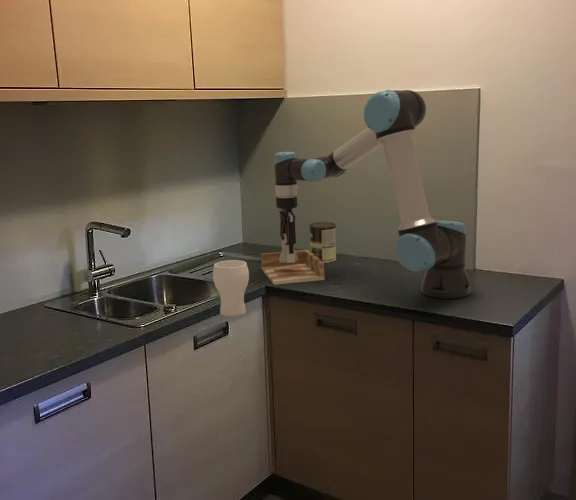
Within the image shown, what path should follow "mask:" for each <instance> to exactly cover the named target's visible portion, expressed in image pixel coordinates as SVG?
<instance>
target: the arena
mask: <svg viewBox="0 0 576 500" xmlns="http://www.w3.org/2000/svg"><path fill="white" fill-rule="evenodd" d="M281 252H282V251H278V252H266V253H260V255H261V257H260V258H261V259H260V261H261V271H262V272H263V273H264V274H265V276H266V277H267V278H268V279H269V281H270V282H271V283H272V285H275V286H276V285H284V284H286V285H288V284H293V283H294V284H296V283H305V282H317V281H324V280H325V263H324V262H323V261H321V260H320V259H319V258H318V257H316V256H315V255H314V254H313V253H311V252H310V249H301V250H295V252H296V255H297V257H298V260H299V261H297V262H293V263H281V262H279V258H280V255H281Z"/></svg>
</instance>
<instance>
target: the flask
mask: <svg viewBox="0 0 576 500" xmlns="http://www.w3.org/2000/svg"><path fill="white" fill-rule="evenodd" d="M283 236H284V245H283V248H282V247H281V251H280V252H281V255H280V258H279V262H281V263H287V245H285V243H287V236H286V233H285V234H283ZM297 261H299V260H298V257H297V255H296V252H295V262H297ZM291 263H293V262H291Z"/></svg>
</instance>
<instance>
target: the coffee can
mask: <svg viewBox="0 0 576 500" xmlns="http://www.w3.org/2000/svg"><path fill="white" fill-rule="evenodd" d="M308 227H309V243H310V247H309V248H310V249H309V251H310V252H311V253H313V254H314V255H315V256H316V257H318V258H319V259H320V260H321V261H323V262H324V264H327V263H333V262H335V261H337V242H336V241H337V240H336V239H337V236H336V234H337V233H336V232H337V230H336V227H337V224H336V223H334V222H327V221H326V222H325V221H323V222H313V223H310V224H309V225H308Z"/></svg>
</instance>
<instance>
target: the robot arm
mask: <svg viewBox="0 0 576 500" xmlns="http://www.w3.org/2000/svg"><path fill="white" fill-rule="evenodd" d="M426 113H427V106H426V102H425V99H424V98H423V97H422V96H421V95H420V94H419V93H418V92H416V91H414V90H410V89H402V90H400V89H399V90H395V89H394V90H391V89H386V90H380V91H377V92H374V94H372V95H371V96H370V97H369V98H368V100H367V102H366V104H365V105H364V109H363V119H364V123H365V125H366V128H365V129H363V130H362V131H360V132H359V133H358V134H356V135H355V136H353V137H352V138H351V139H349V140H348V141H346V142H345V143H343V144H342V145H341V146H339V147H338V148H336V149H335V150H333V152H331V153H330V154H329V155H325V156H320V157H311V158H310V157H309V158H297V154H296V152H294V151H279V152H276V153H275V155H274V164H273V165H274V179H275V183H274V184H275V185H274V187H275V196H276V198H275V206H276V208H277V209H281V210H279V227H280V231H279V236H280V238H281V249H282V248H283V245H284V236H283V234H285V233H286V236H287V243H285V245H287V263H291V262H295V251H296V249H295V247H296V246H295V244H297V238H296V215H295V214H294V212H293V209H295V208H298V197H297V195H298V189H299V186H298V181H300V182H301V181H302V182H309V183H317V182H321V181H323V179H329V178H337V177H340V176H343V175H345V174H346V173H347V171H348V169H349V168H350V167H351V166H353V165H355V164H357V163H358V162H359V161H360V160H363V158H366V157H367V156H368V155H370V154H372V153H373V152H374V151H376V150H377V149H379V148H381V147H382V146H383V150H384V155H385V159H386V163H387V166H388V172H389V176H390V180H391V184H392V188H393V193H394V197H395V201H396V206H397V209H398V214H399V219H400V225H399V226H398V228H397V233H398V236H399V238H398V239H397V240H396V243H395V244H394V245H395V246H394V254H395V256H396V259H397V261H398V262H399V264H400V265H401V266H402V267H404V268H406V269H407V270H409V271H411V272H417V273H418V272H422V271H425V274H424V276H423V279H422V282H421V285H420V286H421V290H420V292H421V293H422V295H425V296H427V297H430V298H435V299H448V300H449V299H451V300H453V299H461V298H465V297H467V296H469V295H471V285H470V281H469V277H468V275H467V271H466V244H467V242H466V240H467V239H466V238H467V231H466V230H467V229H466V224H464V222H460V221H456V220H455V221H454V220H453V221H452V220H444V219H443V220H442V219H440V220H439V219H434V218H432V217H431V215H430V212H429V208H428V203H427V198H426V194H425V191H424V186H423V181H422V177H421V172H420V168H419V164H418V159H417V155H416V151H415V147H414V142H413V136H414V134H415V132H416V128H417V127H418V126H419V125H420V124H421V123H422V122H423V121H424V120H425V116H426Z"/></svg>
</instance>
